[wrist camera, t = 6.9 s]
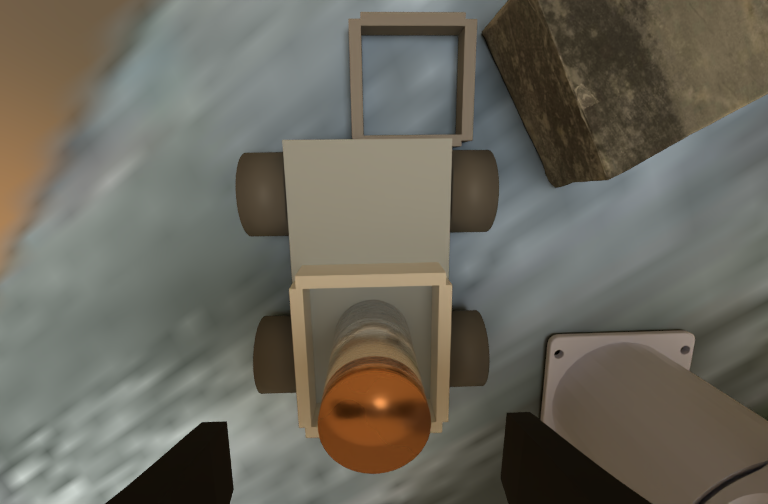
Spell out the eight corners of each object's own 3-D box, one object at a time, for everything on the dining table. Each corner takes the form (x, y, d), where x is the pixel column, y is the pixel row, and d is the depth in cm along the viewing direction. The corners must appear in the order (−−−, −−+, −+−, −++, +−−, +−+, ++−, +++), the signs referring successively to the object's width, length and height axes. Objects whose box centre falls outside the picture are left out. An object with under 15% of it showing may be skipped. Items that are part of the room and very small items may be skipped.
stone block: (817, 60, 18) (990, 21, 13) (548, 202, 19) (614, 217, 14) (773, -139, 16) (957, -275, 11) (475, 31, 17) (521, -23, 12)
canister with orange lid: (406, 368, 17) (426, 474, 11) (334, 366, 17) (316, 473, 11) (411, 301, 16) (435, 375, 10) (336, 298, 16) (318, 372, 10)
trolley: (466, 368, 21) (496, 430, 16) (276, 374, 20) (248, 440, 16) (480, 22, 17) (526, -34, 12) (247, 22, 17) (197, -37, 12)
